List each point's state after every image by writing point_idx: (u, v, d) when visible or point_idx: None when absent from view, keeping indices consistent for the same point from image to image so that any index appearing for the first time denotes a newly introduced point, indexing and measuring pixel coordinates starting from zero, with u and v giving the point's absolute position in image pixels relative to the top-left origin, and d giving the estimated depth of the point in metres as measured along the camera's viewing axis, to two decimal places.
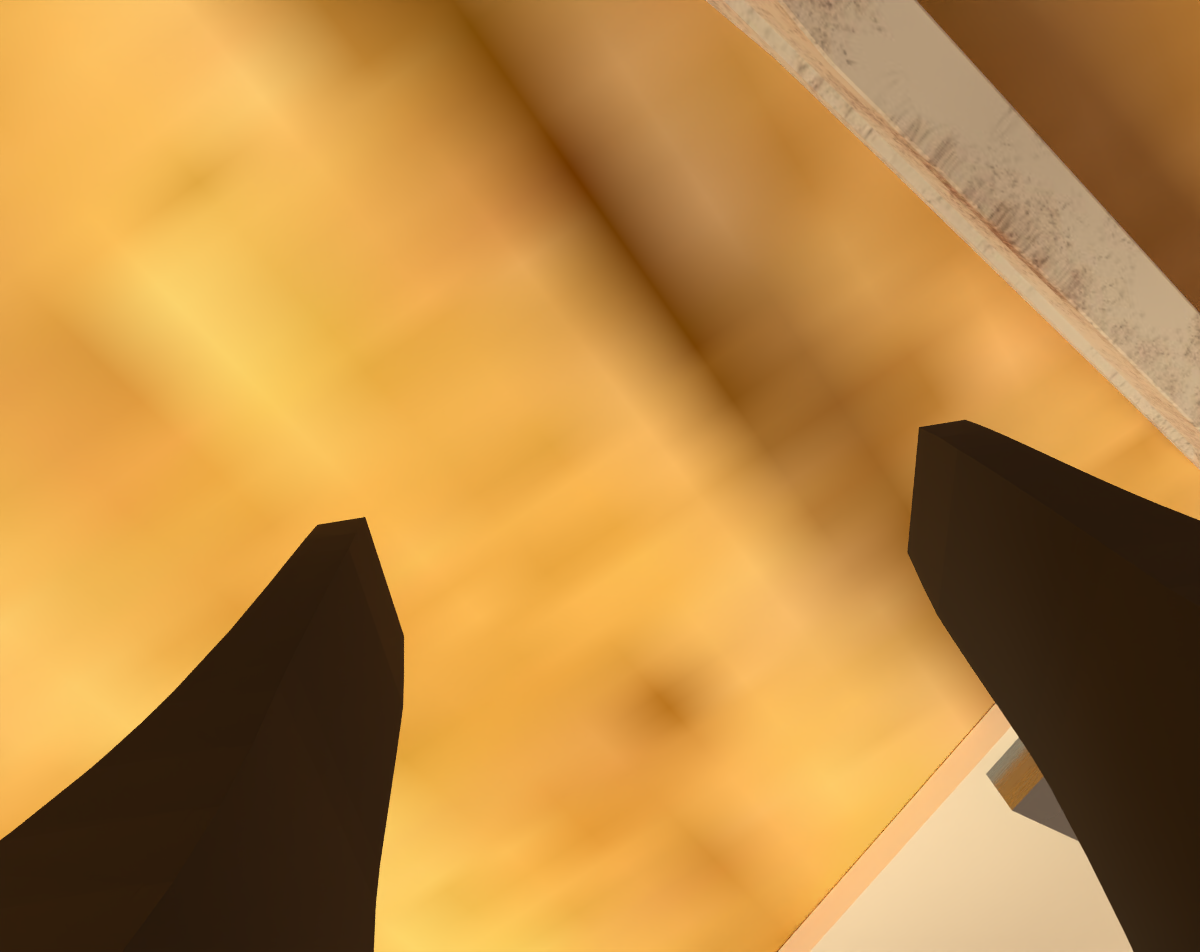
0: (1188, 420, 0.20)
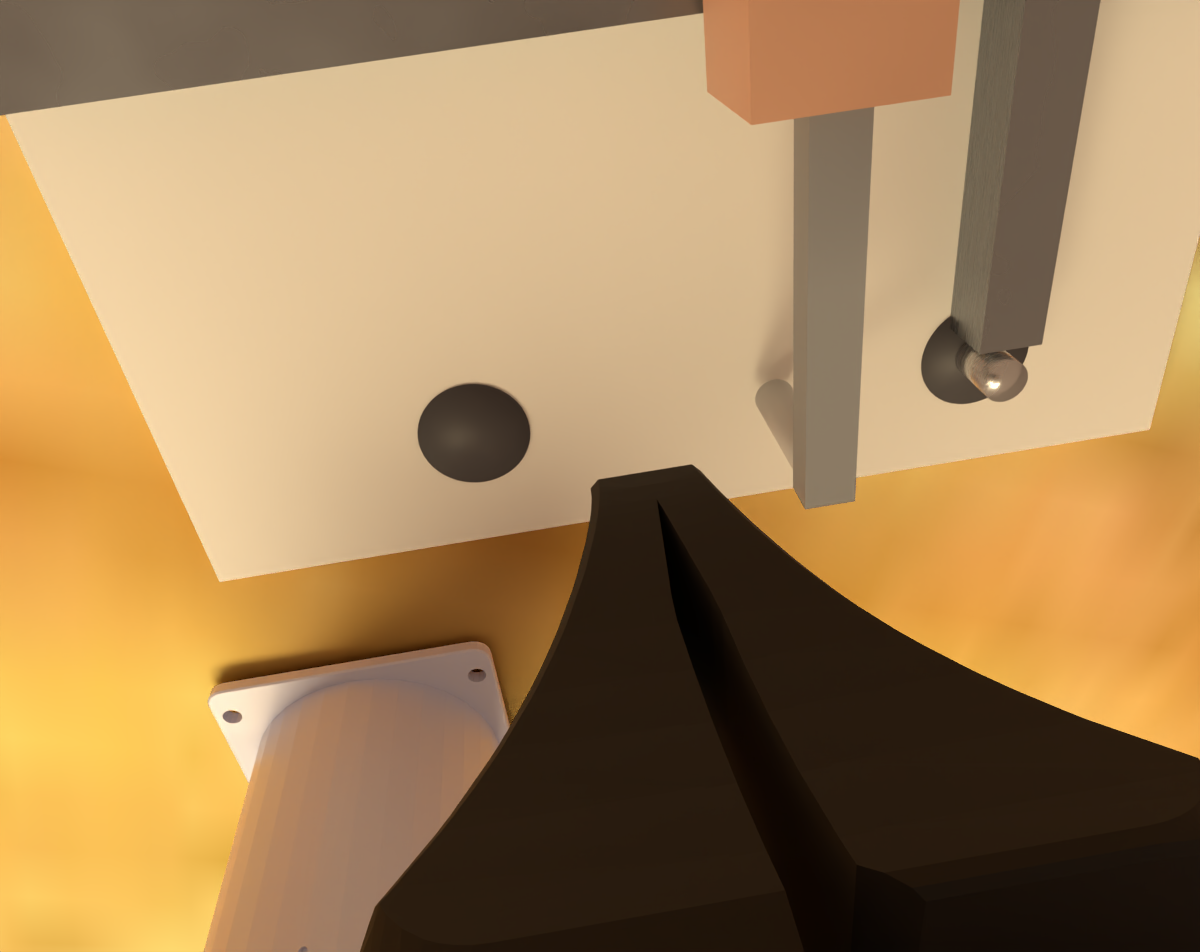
0: None
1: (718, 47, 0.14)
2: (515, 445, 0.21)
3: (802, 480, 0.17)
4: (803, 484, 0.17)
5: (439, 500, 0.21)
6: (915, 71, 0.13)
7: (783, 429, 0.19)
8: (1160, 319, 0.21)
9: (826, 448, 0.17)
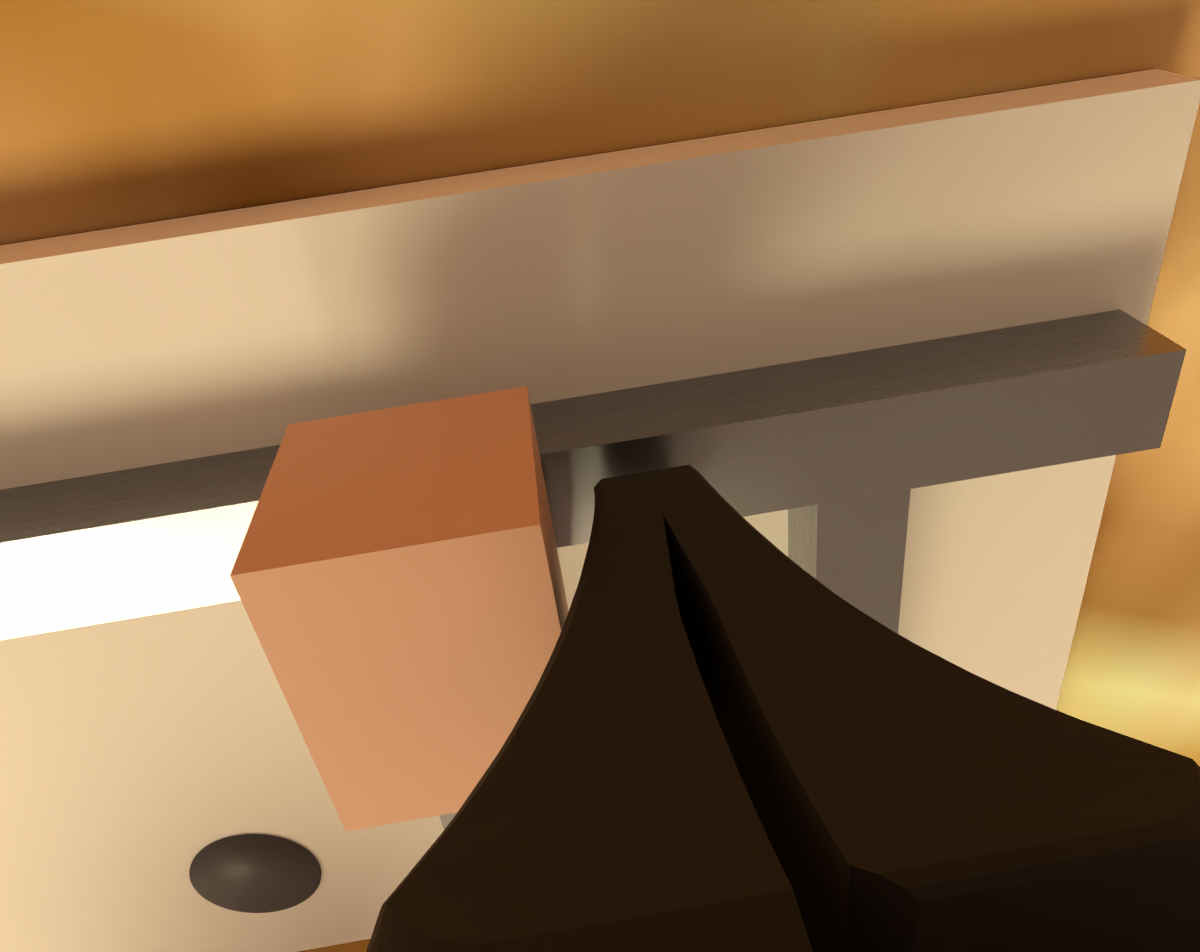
0: None
1: None
2: (305, 880, 0.18)
3: None
4: None
5: (227, 927, 0.19)
6: None
7: None
8: None
9: None
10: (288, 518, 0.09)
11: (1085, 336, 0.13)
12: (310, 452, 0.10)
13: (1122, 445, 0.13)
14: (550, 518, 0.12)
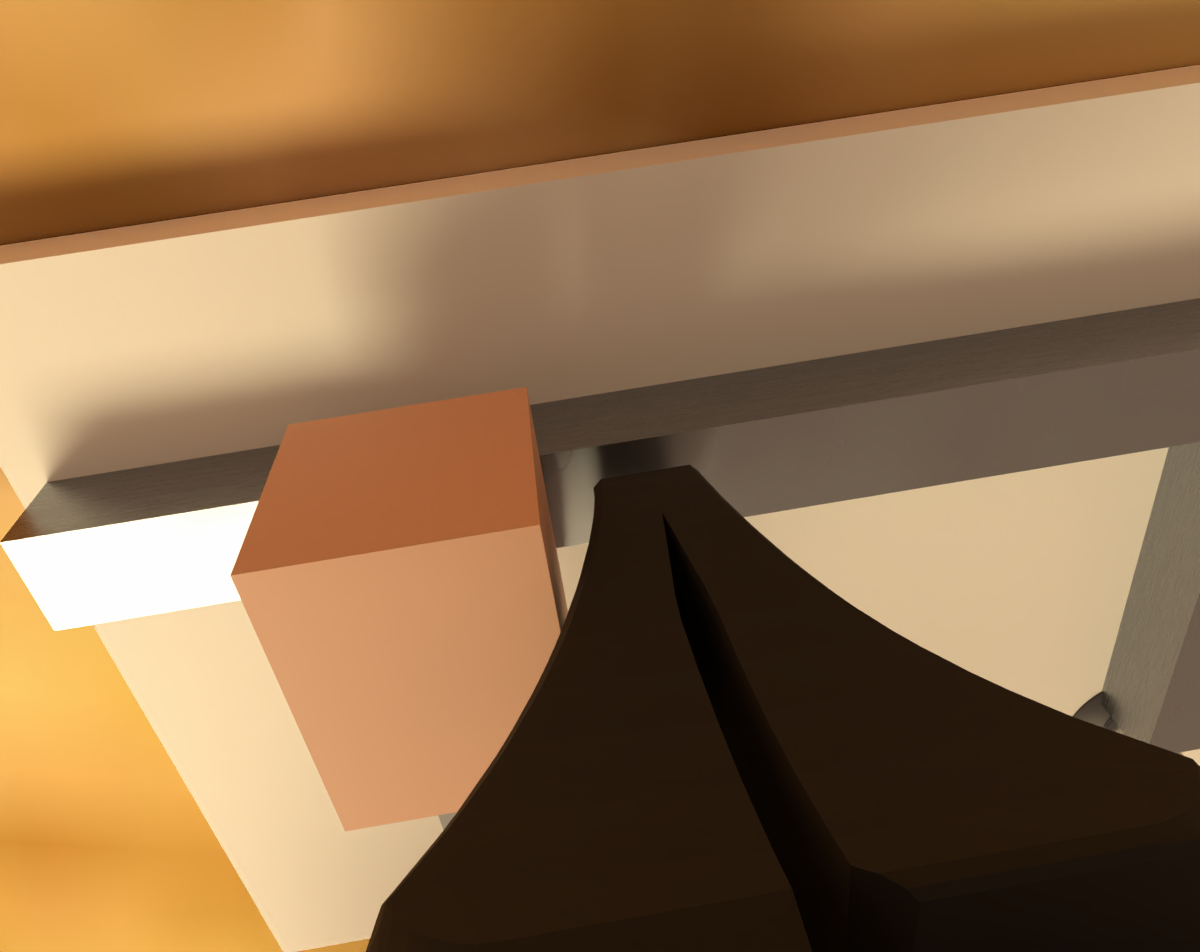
0: None
1: None
2: None
3: None
4: None
5: None
6: None
7: None
8: None
9: None
10: (288, 518, 0.09)
11: None
12: (310, 452, 0.10)
13: None
14: (549, 518, 0.12)
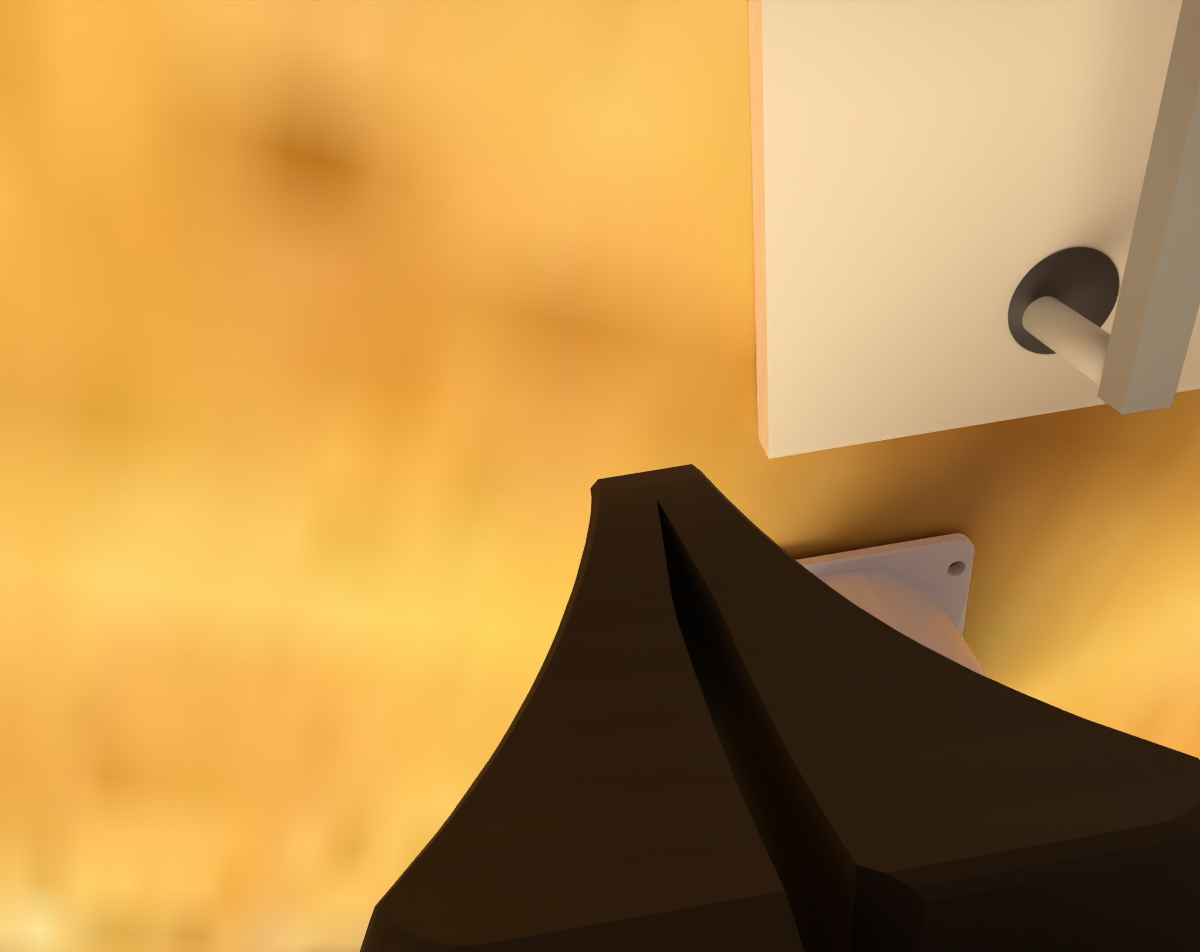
0: None
1: None
2: (1097, 314, 0.21)
3: (1121, 384, 0.17)
4: (1123, 388, 0.17)
5: (1003, 373, 0.21)
6: None
7: (1077, 340, 0.18)
8: None
9: (1157, 348, 0.16)
10: None
11: None
12: None
13: None
14: None
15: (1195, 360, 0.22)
